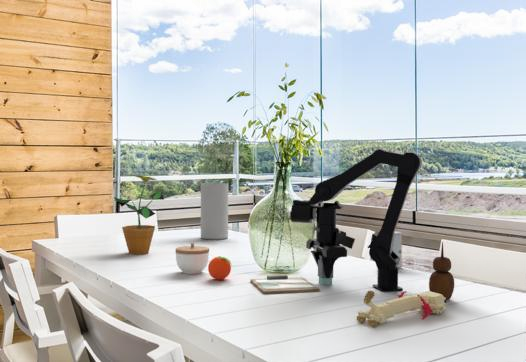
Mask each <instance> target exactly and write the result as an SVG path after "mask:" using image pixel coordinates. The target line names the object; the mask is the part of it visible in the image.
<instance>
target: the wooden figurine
mask: <svg viewBox="0 0 526 362" xmlns="http://www.w3.org/2000/svg"><path fill="white" fill-rule="evenodd" d="M432 269H433V270H434V271H432V273H431V274H430V276H429V280H428V289H429V291H431V292H435V293H438V294H442V295H443V297H444V298H446V299H447V301H449V300H450V299H451V298H452V297H453V294H454V290H455V278H454V275H453V274H452V273H451V272H450V270H451V269H452V262H451V260H450V258H449V257H446V256H445V255H444V242H443V241H442V242H441V251H440V256H436V257H434V259H433V260H432Z"/></svg>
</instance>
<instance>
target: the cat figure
mask: <svg viewBox="0 0 526 362" xmlns="http://www.w3.org/2000/svg"><path fill="white" fill-rule="evenodd" d="M405 293H407V290H405V291H402V292H400V294H398V296H397V298H394V299H390V300H387V301H385V302H383V303H380V304H377V305H376V304H375V303H374V301H372V299H373V298H374V297H375V294H376V293H375V291H374V290H368V291H367V292H366V294H365V295H364V298H363V303H364V304H365V305H366V306H367V307H369V308H370V309H368V310H366V311H362V310H361V311H358V312H357V314H358V315H357V316H356V321H357V322H358V323H360V324H364V323H366V322H367V325H369V327H370V328H376V327H377V326H378V324H383V323H385V322H386V320H387V319H390V318H393V317H394V316H397V315H399V314H402V313H403V314H404V313H406V312H409V311H410V312H414V311H417V310H420V311H423V313H422V317H421V318H420V319H421V320H425V319H427V318H428V316H430V315H431V314H436V315H439V314H442V312H443V311H445V310H446V306H447V302H448V300H447V299H446V298H444V297H443V295H442V294H438V293H435V292H431V291H430V290H429V291H423V292H420V293H415V294H413V295H409V294H408V295H405Z"/></svg>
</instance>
